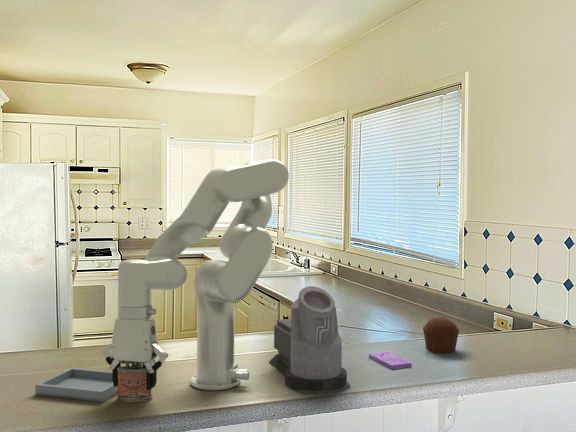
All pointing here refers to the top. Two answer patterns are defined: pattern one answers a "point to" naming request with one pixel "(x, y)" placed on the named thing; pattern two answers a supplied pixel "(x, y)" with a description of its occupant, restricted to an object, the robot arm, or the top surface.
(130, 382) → the lighter
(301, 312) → the juicer
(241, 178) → the robot arm
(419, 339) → the top surface
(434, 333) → the muffin
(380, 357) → the sponges
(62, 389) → the tray
